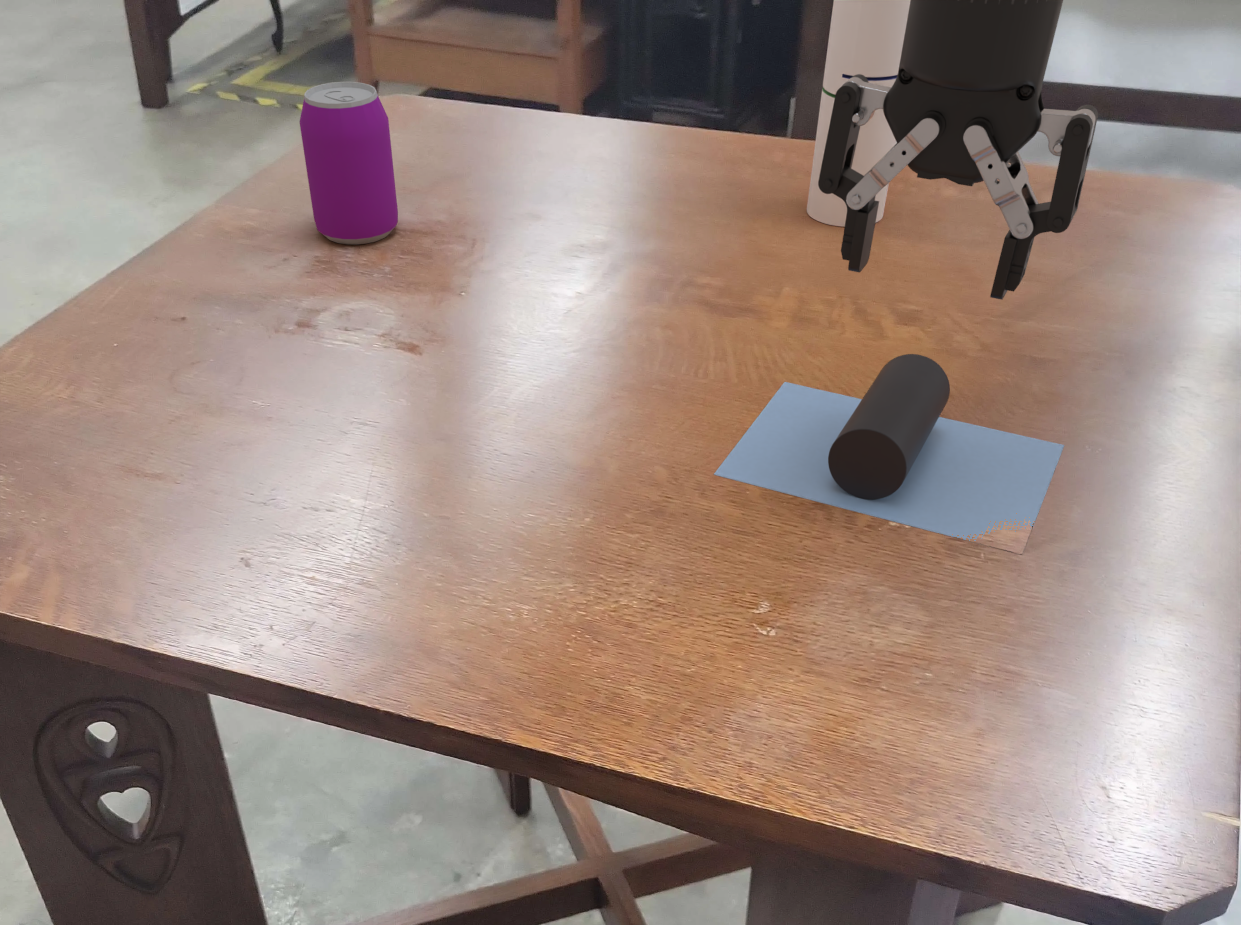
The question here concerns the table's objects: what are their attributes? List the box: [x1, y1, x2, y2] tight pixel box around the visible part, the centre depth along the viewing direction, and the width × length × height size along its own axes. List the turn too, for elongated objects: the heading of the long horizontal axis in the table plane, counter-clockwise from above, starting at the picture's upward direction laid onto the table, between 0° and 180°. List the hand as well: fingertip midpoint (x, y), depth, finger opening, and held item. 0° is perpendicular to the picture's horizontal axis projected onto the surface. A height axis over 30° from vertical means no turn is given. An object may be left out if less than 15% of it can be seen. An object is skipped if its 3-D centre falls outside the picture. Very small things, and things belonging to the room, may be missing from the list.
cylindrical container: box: [806, 0, 911, 228], centre depth 103 cm, size 7×7×25 cm
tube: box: [828, 353, 951, 500], centre depth 78 cm, size 11×5×5 cm, turn 153°
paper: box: [713, 381, 1065, 542], centre depth 80 cm, size 20×14×1 cm
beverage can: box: [299, 81, 399, 245], centre depth 106 cm, size 8×8×12 cm
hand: (926, 280), depth 71 cm, fingers open, 8 cm apart
